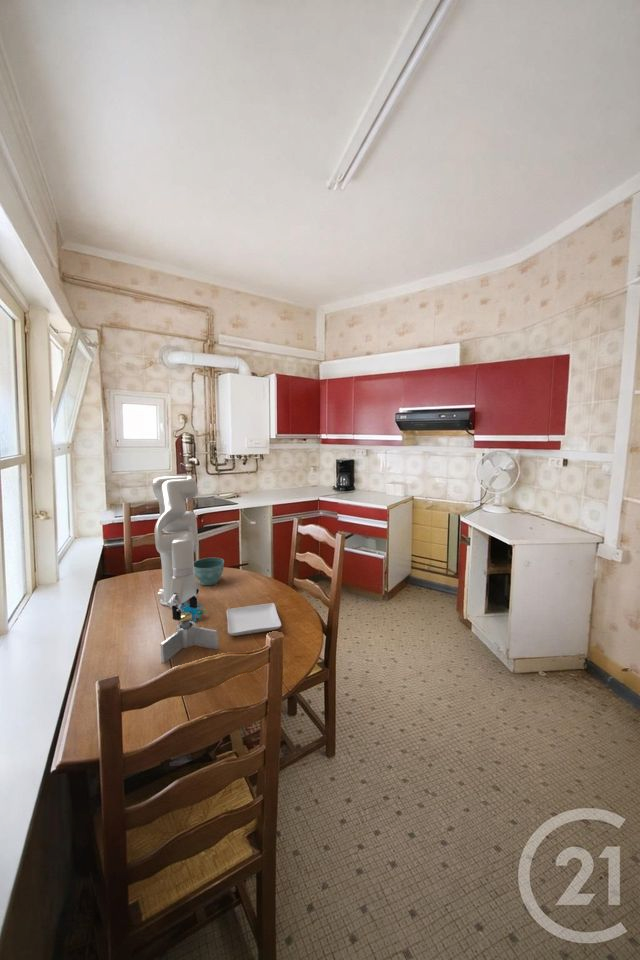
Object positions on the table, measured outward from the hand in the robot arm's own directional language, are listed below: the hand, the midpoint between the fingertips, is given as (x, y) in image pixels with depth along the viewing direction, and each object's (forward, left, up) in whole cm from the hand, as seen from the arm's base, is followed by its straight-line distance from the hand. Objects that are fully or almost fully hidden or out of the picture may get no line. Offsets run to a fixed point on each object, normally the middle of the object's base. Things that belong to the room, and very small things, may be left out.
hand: (185, 613), depth 143 cm
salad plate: (+17, +21, -12) cm, 30 cm away
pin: (0, -1, -12) cm, 12 cm away
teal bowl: (-26, +53, -12) cm, 60 cm away
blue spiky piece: (-9, +16, -12) cm, 22 cm away
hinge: (+5, -5, -11) cm, 14 cm away
